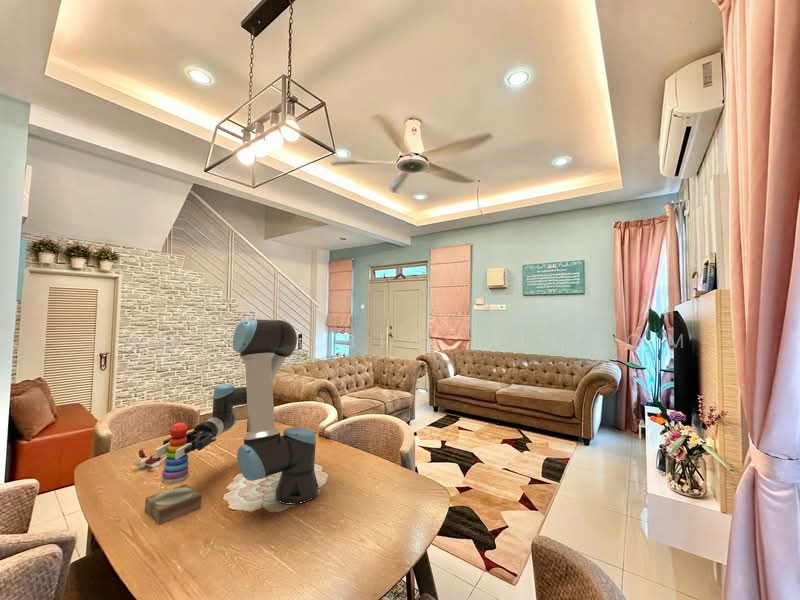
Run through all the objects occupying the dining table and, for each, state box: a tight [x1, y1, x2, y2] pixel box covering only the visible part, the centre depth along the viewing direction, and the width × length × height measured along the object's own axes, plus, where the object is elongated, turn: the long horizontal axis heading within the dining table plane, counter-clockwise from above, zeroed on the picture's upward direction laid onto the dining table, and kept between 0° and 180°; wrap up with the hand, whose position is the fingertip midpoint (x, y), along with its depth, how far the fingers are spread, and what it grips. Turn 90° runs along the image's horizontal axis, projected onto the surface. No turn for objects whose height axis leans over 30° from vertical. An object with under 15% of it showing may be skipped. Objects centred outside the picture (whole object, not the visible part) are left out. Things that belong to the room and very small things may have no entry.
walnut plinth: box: [144, 484, 202, 525], centre depth 113 cm, size 12×12×4 cm
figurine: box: [132, 447, 167, 469], centre depth 143 cm, size 15×12×7 cm
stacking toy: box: [160, 422, 190, 486], centre depth 114 cm, size 8×8×19 cm
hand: (166, 454), depth 109 cm, fingers closed on stacking toy, 6 cm apart
